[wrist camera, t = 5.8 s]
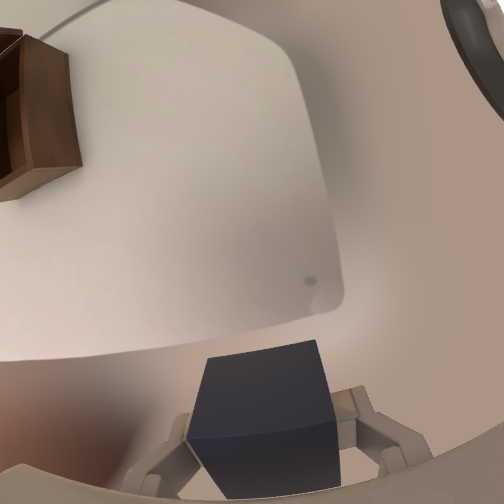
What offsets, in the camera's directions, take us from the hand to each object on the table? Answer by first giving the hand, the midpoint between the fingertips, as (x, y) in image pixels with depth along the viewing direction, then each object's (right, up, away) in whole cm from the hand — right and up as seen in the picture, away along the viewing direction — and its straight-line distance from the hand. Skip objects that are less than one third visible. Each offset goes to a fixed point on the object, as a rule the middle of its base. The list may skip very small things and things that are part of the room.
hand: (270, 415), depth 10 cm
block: (0, 0, +2) cm, 2 cm away
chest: (-26, +21, +15) cm, 37 cm away
